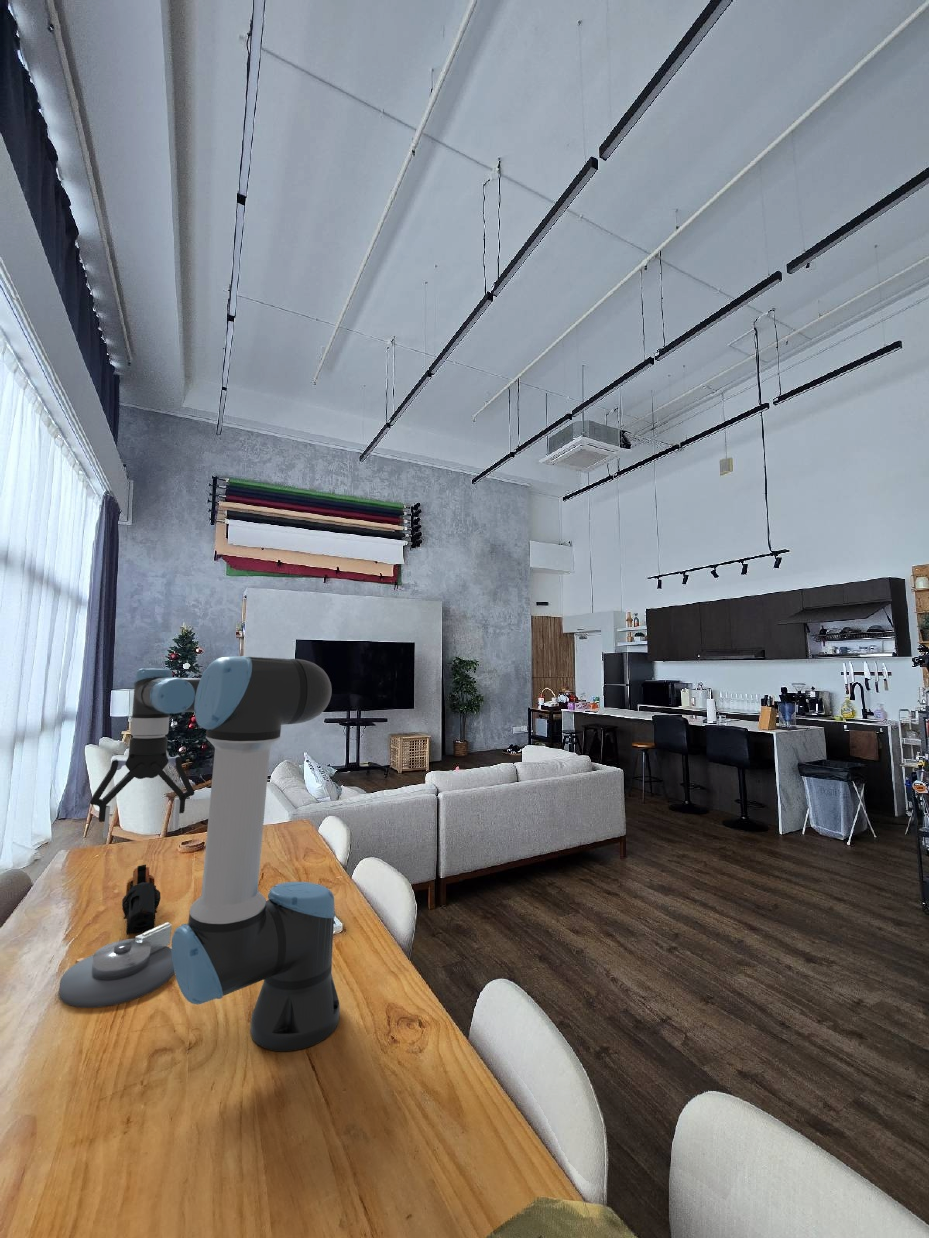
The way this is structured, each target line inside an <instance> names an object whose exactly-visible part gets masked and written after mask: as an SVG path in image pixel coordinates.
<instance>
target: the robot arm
mask: <svg viewBox="0 0 929 1238" xmlns="http://www.w3.org/2000/svg"><path fill="white" fill-rule="evenodd" d="M135 673H136V674H135V678H134V681H133V687H134V688H133V689H134V690H133V701H132V715H131V724H130V735H131V736H132V737H131V738H129V746H128V747H129V748H128V756H127V759H118V758H113V759H112V760H111V764H110V768H109V770H108V771H107V773H106V774H105V776H104V778H103V779H102V781H101V782H100V784H99V786H98V787H97V788H96V790H95V792H94V793H93V795H92V796H91V798H90V801H89V803H90V805H92V806H97V807H98V808H99V811H98V823H103V833H102V834H103V836H102V839H108V835H109V827H110V825H109V824H110V816H111V815H110V814H111V805H110V804H109V803H110V802H111V801H112V800H113V799H114V798H115V797H116V796H117V795H118V794H119V793H120V792H121V791H122V790H123V789H124V788H125V787H126V786H127V785H128V784H129V783H131V781H132V780H133V779H134V778H135V779H138V780H143V779H146V778H147V779H154V778H156V777H158V776H159V777H160V778H161V779H162V780H163V781H164V782H165V784H166V785H167V786H168V787H169V788H170V789H171V790H172V791H173V792H174V793H175V794H176V796H178V797H175V798H174V806H173V807H174V810H173V822H172V828H173V830H174V831H175V830H176V831H177V830H179V820H180V814H184V813H185V808H186V807H185V806H186V799H187V798H189V797H191V796H194V795H195V790H194V789H193V787H192V785H191V782H190V780H189V778H188V775H187V773H186V772H185V769H184V768H183V764H182V763H183V761H182V757H181V756H180V755H178V754H177V755H175V756H173V757H168V755H167V753H168V741H169V740H168V739H169V738H168V737H167V736H166V735H168V734H169V729H170V728H169V727H170V714H179V713H192V712H195V714H194V718H195V721H196V724H197V725H198V726H199V727H200V728H202V729H204V730H206V734H205V739H206V740H207V741H208V742H209V743H210V744H211V745H212V746H213V747H214V753H213V754H214V755H213V766H212V776H211V786H210V787H211V788H210V798H209V808H208V809H209V810H208V818H207V820H208V822H207V829H206V830H207V831H206V840H205V841H206V842H205V853H204V861H203V862H204V863H203V864H204V865H203V875H202V883H201V884H202V885H201V894H200V896H199V897H198V898H197V899H196V900H195V901H194V902H193V903H192V904H191V905H190V908H189V911H188V912H189V915H188V923H183V924H181V925H180V926H178V927H176V928H175V930H174V932H173V934H172V936H171V944H170V945H171V946H170V947H171V950H172V961H173V967H174V972H175V973H174V975H175V978H176V982H177V985H178V988H179V989H180V993H181V994H182V995H183V997H184V998H185V1000H187V1001H188V1002H189V1003H190V1004H193V1005H202V1004H204V1003H205V1004H206V1003H207V1002H210V1001H213V1000H219V999H222V998H223V997H224V996H227V995H229V994H232V993H234V992H237V991H240V990H241V989H243V988H247V987H249V986H251V985H253V984H257V983H259V982H262V981H263V982H262V985H261V988H260V992H259V993H258V994H259V995H258V997H257V999H256V1001H255V1002H256V1004H255V1006H254V1008H253V1010H252V1014H251V1019H250V1031H249V1032H250V1037H251V1039H252V1040H253V1042H254V1043H256V1044H257V1045H258V1046H259V1047H261V1048H264V1049H266V1050H271V1051H275V1052H291V1051H298V1050H299V1051H300V1050H303V1049H306V1048H309V1047H310V1048H311V1047H312V1046H315V1045H317V1044H319V1043H320V1042H322V1041H323V1040H325V1039H326V1038H329V1036H331V1034H332V1033H333V1032H334V1031H335V1030H336V1028H337V1027H338V1024H339V1021H340V1011H341V1009H340V1007H341V1005H340V1000H339V997H338V993H337V989H336V985H335V980H334V978H333V973H332V970H333V969H332V967H333V965H332V964H333V947H334V944H333V943H334V929H335V928H334V925H335V924H334V923H335V917H336V910H335V896H334V894H333V892H332V890H330V889H329V888H328V887H326V886H325V885H321V884H318V883H314V882H307V881H288V882H281V883H278V884H275V885H274V886H273V887H271V888H270V889H269V892H268V894H267V898H268V899H267V898H266V897H265V895H263V894H262V893H261V892H260V891H259V880H260V879H259V878H260V868H261V867H260V866H261V858H262V857H261V856H262V846H263V845H262V843H263V833H264V820H265V809H266V799H267V789H268V788H267V786H268V774H269V764H270V763H269V762H270V752H271V751H270V750H271V747H273V745H274V744H276V743H277V742H278V741H279V740H280V739H281V731H282V726H283V725H295V724H296V725H297V724H303V723H306V722H310V721H311V720H313V719H315V718H317V717H318V716H320V715H321V714H322V713H323V712H324V711H325V710H326V709H327V707H328V705H329V703H330V701H331V697H332V694H333V693H332V691H333V690H332V683H331V681H330V677H329V676H328V674H327V673H326V671H325V670H324V669H323V668H322V667H320V666H319V665H317V664H316V663H314V662H312V661H308V660H305V659H299V658H280V657H279V658H277V657H260V656H259V657H258V656H247V655H242V656H239V655H237V656H223V657H218V658H216V659H215V660H213V661H212V662H211V663H209V665H208V666H207V668H206V669H205V670H204V671H203V673H202V674H201V677H198V678H197V677H176V676H175V677H173V671H172V669H168V668H139V669H137V671H136V672H135ZM168 764H170V765H171V766H172V767H175V770H176V771H177V774H178V776H179V778H180V781H182V784H183V786H184V788H185V791H183V790H182V789H181V788H180V787H179V786H178V785H177V784H176V782H174V781H173V779H171V777H170V776H169V775H168V774H167V773H166V772H165V771H164V769H165V767H166V766H167V765H168ZM123 766H125V767H126V768H127V770H128V772H127V773H126V774H125V775H124V777H122V778H121V779H120V781H119V782H117V784H115V786H114V787H112V788H111V790H110V791H108V793H107V794H106V795H104V797H103V798H101V797H102V795H103V793H104V792H105V791H106V789H107V787H108V786H109V784H110V783H111V781H112V780H113V778H114V776H115V775H116V773H117V771H120V770H121V769H122V767H123Z"/></svg>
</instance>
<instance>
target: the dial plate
mask: <svg viewBox="0 0 929 1238" xmlns="http://www.w3.org/2000/svg"><path fill="white" fill-rule="evenodd" d="M93 955H94V954H92V955H90V956H88V957H80V958H78V959H76V960H75V964H73V965H72V966H70V967H69V968H68V969H67V970H66V971H65V972H64V973H63V974H62V976H61V978H60V980H59V985H58V986H59V987H58V988H59V989H58V997H59V1000H61V1002H63V1003H64V1004H66V1005H68V1006H70V1007H73V1008H81V1009H96V1008H97V1009H98V1008H106V1007H110V1006H116V1005H120V1004H124V1003H128V1002H131V1001H134V1000H137V999H138V998H141V997H143V996H147V995H148V994H150V993H152V992H154V991H155V990H158V989H159V988H161V987H162V986H164V985H165V984H166V983H167V982H169V980H170V979H171V978H172V977H173V976H174V975H175V972H174V967H173V961H172V950H171V946H170V947H169V946H166V947H164V948H162V949H160V950H158V951H156V952H154V953H152V954H150V961H149V964H148V965H147V966H146V967H145V968H144V969H142V970H140V971H139V972H137V973H134V974H132V975H129V976H126V977H122V978H118V979H110V980H103V979H97V978H95V977H93V976H92V961H93Z"/></svg>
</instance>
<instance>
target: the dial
mask: <svg viewBox="0 0 929 1238" xmlns="http://www.w3.org/2000/svg"><path fill="white" fill-rule="evenodd" d="M171 935H172V924H171V923H170V922H168V921H167V922H165V923H162V924H160V925H158V926H156V927H154V929H152V930H149V931H146V932H142V933H140V934H139V935H136V936H135V938H128V939H122V940H116V941H114V942H111V943H108V944H106V945H104V946H102V947H100V948H99V949H97V950H96V951H94V953H93V954H92V955H93V961H92V976H93V977H95V978H97V979H103V980H110V979H118V978H122V977H126V976H129V975H132V974H134V973H137V972H139V971H140V970H142V969H144V968H145V967H146V966H147V965H148V964H149V961H150V954H152V953H154V952H156V951H158V950H160V949H162V948H164V947H166V946H167V947H169V946H170V945H171V941H172V936H171Z"/></svg>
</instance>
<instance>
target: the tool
mask: <svg viewBox="0 0 929 1238" xmlns="http://www.w3.org/2000/svg"><path fill="white" fill-rule="evenodd" d="M161 898H162V897H161V892H160V891H159V889H157V885H155V876H153V875H152V874H150V867H149V866H147V864H142V865H138V866H137V867H136V868H134V869H133V871H132V877H130V878H129V879H128V880H127V882H126V888H125V895H124V897H123V898H122V900H121V901H122V903H121V907H122V912H123V914H124V916H123V920H126V928H125V933H126V935H128V936H129V935H136V934H143V933H145V932H147V931H149V930H152V929H154V928H155V926H156V924H155V922H156V913H158V911H157V909H158V907H159V905H160V901H161Z"/></svg>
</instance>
